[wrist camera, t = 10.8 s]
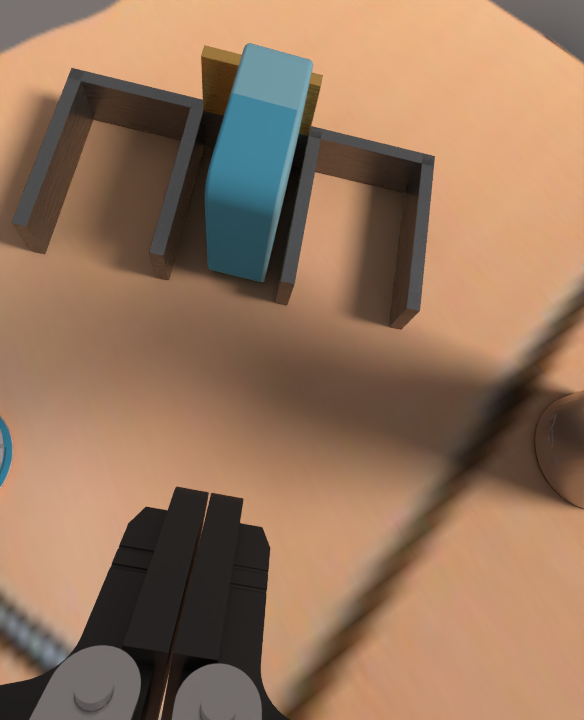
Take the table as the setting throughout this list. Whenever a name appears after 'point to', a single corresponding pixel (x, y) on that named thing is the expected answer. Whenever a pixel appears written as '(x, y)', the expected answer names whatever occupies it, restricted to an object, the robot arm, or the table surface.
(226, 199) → the data package
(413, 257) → the sorting rack
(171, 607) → the robot arm
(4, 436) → the beverage bottle
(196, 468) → the table surface
